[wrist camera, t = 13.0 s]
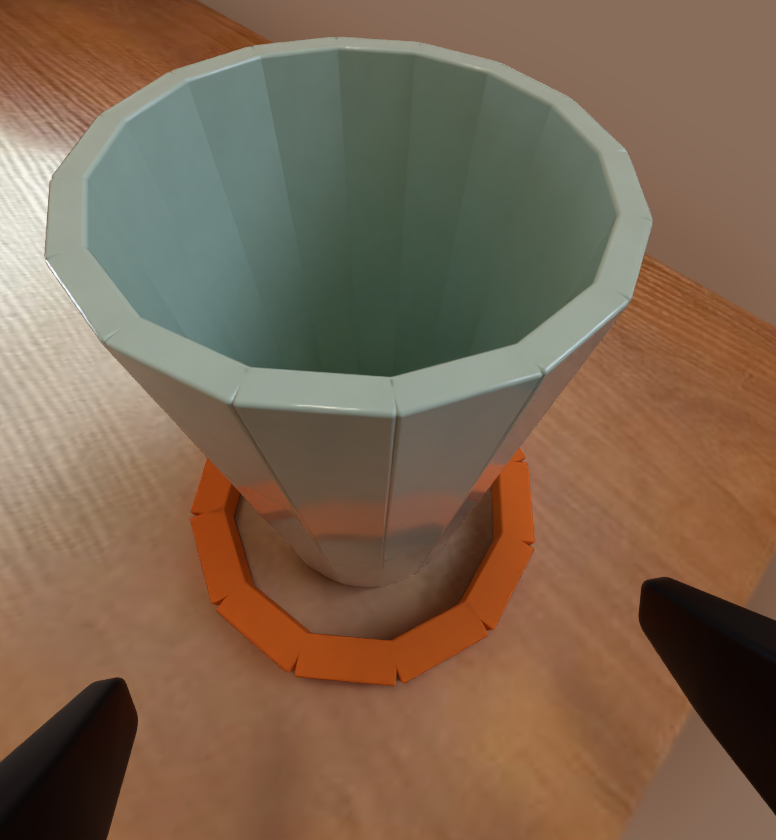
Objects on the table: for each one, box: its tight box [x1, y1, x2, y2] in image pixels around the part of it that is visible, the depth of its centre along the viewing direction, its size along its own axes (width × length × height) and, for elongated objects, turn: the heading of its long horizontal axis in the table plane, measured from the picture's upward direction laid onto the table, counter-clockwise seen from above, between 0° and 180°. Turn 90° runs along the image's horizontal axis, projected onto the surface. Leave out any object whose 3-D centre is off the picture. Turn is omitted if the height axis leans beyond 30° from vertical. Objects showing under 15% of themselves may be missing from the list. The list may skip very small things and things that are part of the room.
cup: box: [44, 37, 653, 587], centre depth 11 cm, size 7×7×13 cm
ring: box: [190, 448, 535, 686], centre depth 16 cm, size 12×12×1 cm
